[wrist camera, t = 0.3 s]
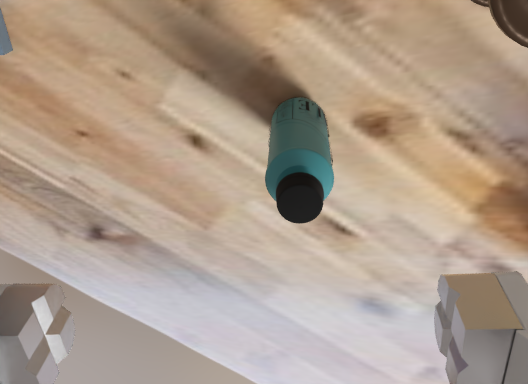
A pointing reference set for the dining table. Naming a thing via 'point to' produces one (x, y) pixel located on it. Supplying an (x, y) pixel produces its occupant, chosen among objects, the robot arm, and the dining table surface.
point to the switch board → (4, 37)
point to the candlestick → (510, 17)
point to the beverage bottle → (299, 160)
